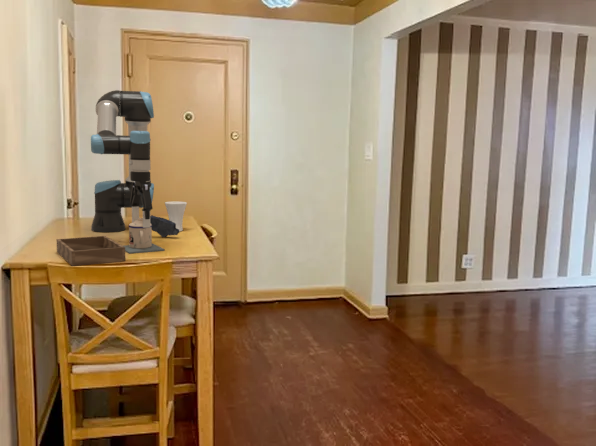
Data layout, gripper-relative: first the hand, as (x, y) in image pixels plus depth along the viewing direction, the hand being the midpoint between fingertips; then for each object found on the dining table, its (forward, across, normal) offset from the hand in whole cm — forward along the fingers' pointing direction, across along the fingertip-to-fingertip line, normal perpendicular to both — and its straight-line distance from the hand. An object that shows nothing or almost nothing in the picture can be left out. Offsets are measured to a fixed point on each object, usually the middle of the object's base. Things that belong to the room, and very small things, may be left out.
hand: (141, 225), depth 220 cm
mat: (+10, 0, 0) cm, 10 cm away
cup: (+10, -37, +29) cm, 48 cm away
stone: (+10, -21, +17) cm, 29 cm away
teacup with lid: (+9, 0, 0) cm, 9 cm away
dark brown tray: (+10, +6, -21) cm, 24 cm away
